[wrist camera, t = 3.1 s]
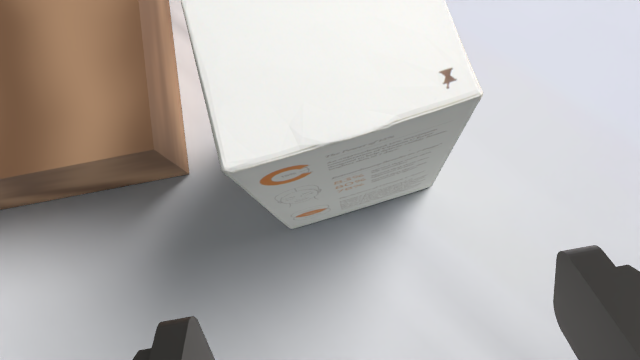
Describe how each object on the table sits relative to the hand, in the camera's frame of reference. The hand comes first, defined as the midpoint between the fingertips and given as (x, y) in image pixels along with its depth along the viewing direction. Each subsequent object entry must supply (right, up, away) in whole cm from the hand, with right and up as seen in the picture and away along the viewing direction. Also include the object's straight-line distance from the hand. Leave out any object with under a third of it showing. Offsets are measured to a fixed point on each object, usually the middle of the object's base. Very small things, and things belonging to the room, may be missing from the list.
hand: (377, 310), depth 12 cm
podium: (-16, +8, +19) cm, 26 cm away
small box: (0, +4, +17) cm, 18 cm away
